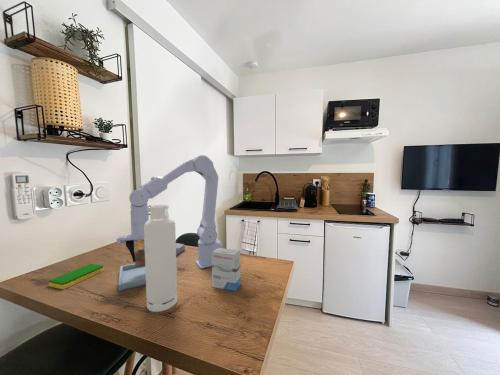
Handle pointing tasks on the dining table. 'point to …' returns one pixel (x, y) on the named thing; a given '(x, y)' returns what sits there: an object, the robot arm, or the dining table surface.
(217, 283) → the ink box
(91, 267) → the dish sponge
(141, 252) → the walnut block
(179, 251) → the stone block
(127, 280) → the tray
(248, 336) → the dining table surface
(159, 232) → the bottle
